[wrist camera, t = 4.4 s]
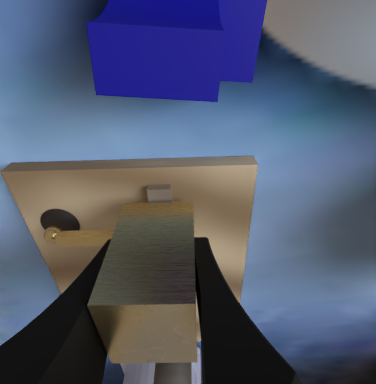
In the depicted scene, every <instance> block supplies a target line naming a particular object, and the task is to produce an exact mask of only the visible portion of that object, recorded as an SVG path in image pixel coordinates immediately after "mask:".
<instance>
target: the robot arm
mask: <svg viewBox="0 0 376 384" xmlns="http://www.w3.org/2000/svg"><path fill="white" fill-rule="evenodd" d="M110 241H111V239H109V240H107V242H106V243H105V244H104V245H103V247H102V248H101V249H100V251H99V252H98V253H97V254H96V256H95V257H94V258H93V259H92V261H91V262H90V263H89V264H88V265H87V266H86V268H85V269H84V270H83V271H82V272H81V274H80V275H79V276H78V277H77V278H76V279H75V280H74V281H73V282H72V283H71V285H70V286H69V287H68V288H67V289H66V290H65V291H64V292H63V293H62V294H61V295H60V296H59V297H58V298H57V299H56V300H55V301H54V302H53V303H52V304H51V305H50V306H49V307H48V308H47V309H45V310H44V311H43V312H42V313H41V314H40V315H39V316H37V317H36V318H35V319H34V320H33V321H32V322H30V323H29V324H28V325H27V326H26V327H24V328H23V329H22V330H21V331H19V332H18V333H17V334H16V335H14V336H13V337H12V338H10V339H9V340H8V341H6V342H5V343H4V344H2V345H1V346H0V384H102V380H103V374H104V369H105V363H106V358H107V351H106V349H105V346H104V344H103V342H102V339H101V337H100V335H99V332H98V330H97V328H96V325H95V323H94V321H93V318H92V316H91V314H90V311H89V309H88V307H87V305H88V302H89V299H90V296H91V293H92V291H93V288H94V285H95V282H96V280H97V277H98V274H99V271H100V269H101V266H102V263H103V260H104V258H105V255H106V252H107V249H108V247H109V244H110ZM194 249H195V285H196V298H197V307H198V315H199V324H200V333H201V352H202V381H203V384H302V382H301V380H300V378H299V377H298V375H297V373H296V371H295V370H294V369H293V368H292V367H291V366H290V365H289V364H288V363H287V361H286V360H285V359H284V358H283V357H282V356H281V355H280V354H279V353H278V352H277V351H276V350H275V348H274V347H273V346H272V345H271V344H270V343H269V341H268V340H267V339H266V338H265V337H264V335H263V334H262V333H261V332H260V330H259V329H258V328H257V327H256V325H255V324H254V323H253V321H252V320H251V319H250V318H249V316H248V315H247V313H246V312H245V310H244V309H243V308H242V306H241V305H240V303H239V302H238V300H237V299H236V297H235V295H234V294H233V292H232V291H231V289H230V287H229V285H228V284H227V282H226V280H225V278H224V276H223V274H222V272H221V270H220V268H219V266H218V264H217V262H216V260H215V257H214V255H213V252H212V249H211V246H210V243H209V239H208V238H207V237H194ZM120 365H121V367H122V370H123V372H124V380H123V384H153V383H154V373H155V363H120ZM192 384H201V369H200V348H199V347H197V362H192Z"/></svg>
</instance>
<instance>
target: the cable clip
mask: <svg viewBox="0 0 376 384" xmlns="http://www.w3.org/2000/svg"><path fill="white" fill-rule="evenodd" d="M266 3H267V0H108V3H107V5H106V7H105V9H104V11H103V12H102V14H101V15H100V16H99V17H98V18H96V19H95V20H93V21H88V22H86V25H87V32H88V40H89V47H90V54H91V62H92V69H93V76H94V84H95V91H96V95H106V96H123V97H140V98H157V99H175V100H192V101H209V102H217V101H218V92H219V84H220V81H234V82H251V83H252V81H253V75H254V70H255V64H256V59H257V53H258V48H259V42H260V37H261V31H262V25H263V20H264V14H265V9H266Z"/></svg>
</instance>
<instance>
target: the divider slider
mask: <svg viewBox="0 0 376 384" xmlns="http://www.w3.org/2000/svg"><path fill="white" fill-rule="evenodd" d="M44 239H45V241H46V242H48V243H50V244H56V243H58V245H59V247H84V246H103V245H104V244H105V243H106V242H107V240H109V239H111V241H110V244H109V247H108V249H107V252H106V255H105V258H104V260H103V263H102V266H101V269H100V271H99V274H98V277H97V280H96V282H95V285H94V288H93V291H92V293H91V296H90V299H89V302H88V305H87V307H88V309H89V311H90V314H91V316H92V318H93V321H94V323H95V325H96V328H97V330H98V332H99V335H100V337H101V339H102V342H103V344H104V346H105V349H106V351H107V353H108V356H109V358H110V360H111V363H190V362H197V325H196V285H195V249H194V206H193V202H164V203H124V205H123V208H122V211H121V214H120V216H119V219H118V222H117V225H116V227H115V230H82V231H63V229H62V228H61V227H59V226H50V227H48V228H47V229H46V230H45V232H44Z"/></svg>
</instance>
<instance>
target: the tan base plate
mask: <svg viewBox="0 0 376 384" xmlns="http://www.w3.org/2000/svg"><path fill="white" fill-rule="evenodd" d="M257 168H258V164H257V162H256V160H255V158H254V156H234V157H200V158H165V159H131V160H96V161H62V162H27V163H11V164H10V165H9V166H7V167H6V168H5V169H4V170H2V171H1V174H2V176H3V178H4V180H5V182H6V184H7V186H8V188H9V190H10V192H11V194H12V196H13V198H14V200H15V202H16V204H17V206H18V208H19V210H20V212H21V214H22V216H23V218H24V220H25V222H26V224H27V226H28V228H29V230H30V232H31V234H32V236H33V238H34V240H35V242H36V244H37V246H38V248H39V250H40V252H41V254H42V256H43V258H44V260H45V262H46V264H47V266H48V268H49V270H50V272H51V274H52V276H53V278H54V280H55V282H56V284H57V286H58V288H59V290H60V292H61V294H62V293H63V292H64V291H65V290H66V289H67V288H68V287H69V286H70V285H71V283H72V282H73V281H74V280H75V279H76V278H77V277H78V276H79V275H80V274H81V272H82V271H83V270H84V269H85V268H86V266H87V265H88V264H89V263H90V262H91V261H92V259H93V258H94V257H95V256H96V254H97V253H98V252H99V251H100V249H101V248H102V247H103V246H84V247H59V245H58V243H56V244H50V243H48V242H46V241H45V239H44V232H45V230H46V229H47V228H48V227H50V226H59V227H61V228H62V229H63V231H82V230H115V227H116V225H117V222H118V219H119V216H120V214H121V211H122V208H123V205H124V203H164V202H193V206H194V237H207V238H208V239H209V243H210V246H211V249H212V252H213V255H214V257H215V260H216V262H217V264H218V266H219V268H220V270H221V272H222V274H223V276H224V278H225V280H226V282H227V284H228V285H229V287H230V289H231V291H232V292H233V294H234V295H235V297H236V299H237V300H238V302H239V303H240V298H241V291H242V283H243V275H244V268H245V260H246V252H247V245H248V237H249V229H250V222H251V214H252V206H253V199H254V191H255V183H256V176H257ZM196 325H197V341H201V333H200V324H199V315H198V307H197V298H196ZM153 384H192V362H190V363H155V373H154V383H153Z"/></svg>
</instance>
